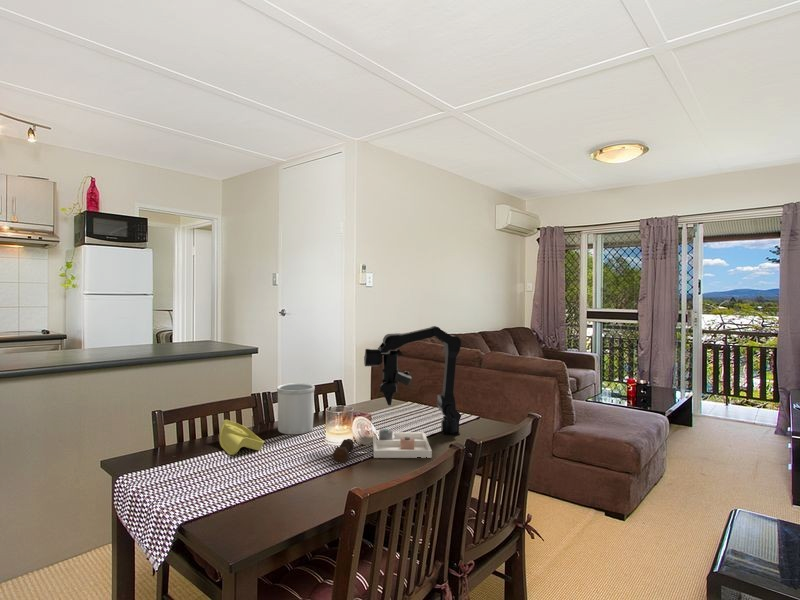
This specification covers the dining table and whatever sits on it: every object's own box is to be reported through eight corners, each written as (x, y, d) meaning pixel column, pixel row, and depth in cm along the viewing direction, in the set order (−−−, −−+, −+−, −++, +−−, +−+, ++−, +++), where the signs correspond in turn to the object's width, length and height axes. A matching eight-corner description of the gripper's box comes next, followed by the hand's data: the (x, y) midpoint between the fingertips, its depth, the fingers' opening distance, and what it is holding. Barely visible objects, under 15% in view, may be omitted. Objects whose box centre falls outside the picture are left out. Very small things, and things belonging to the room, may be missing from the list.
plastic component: (266, 443, 164) (241, 436, 157) (256, 463, 162) (231, 457, 156) (244, 425, 179) (221, 418, 172) (235, 443, 177) (211, 436, 171)
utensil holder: (268, 429, 186) (269, 386, 186) (297, 421, 198) (298, 381, 198) (292, 437, 177) (293, 392, 177) (321, 429, 189) (322, 386, 189)
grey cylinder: (391, 439, 177) (392, 427, 177) (392, 444, 172) (393, 431, 172) (378, 439, 177) (379, 427, 177) (379, 444, 172) (379, 431, 172)
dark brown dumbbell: (351, 453, 168) (341, 467, 154) (339, 445, 169) (329, 459, 154) (359, 439, 168) (351, 452, 153) (348, 432, 169) (338, 444, 154)
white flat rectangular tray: (421, 431, 190) (421, 425, 190) (431, 457, 161) (431, 450, 161) (372, 431, 188) (372, 425, 188) (373, 457, 159) (374, 450, 159)
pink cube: (413, 447, 168) (413, 435, 168) (414, 452, 164) (415, 439, 163) (399, 447, 168) (400, 435, 168) (400, 452, 163) (401, 439, 163)
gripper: (410, 370, 174) (409, 412, 175) (411, 362, 193) (410, 400, 194) (380, 370, 175) (379, 411, 175) (384, 362, 194) (383, 399, 194)
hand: (389, 405), depth 185 cm, fingers closed
